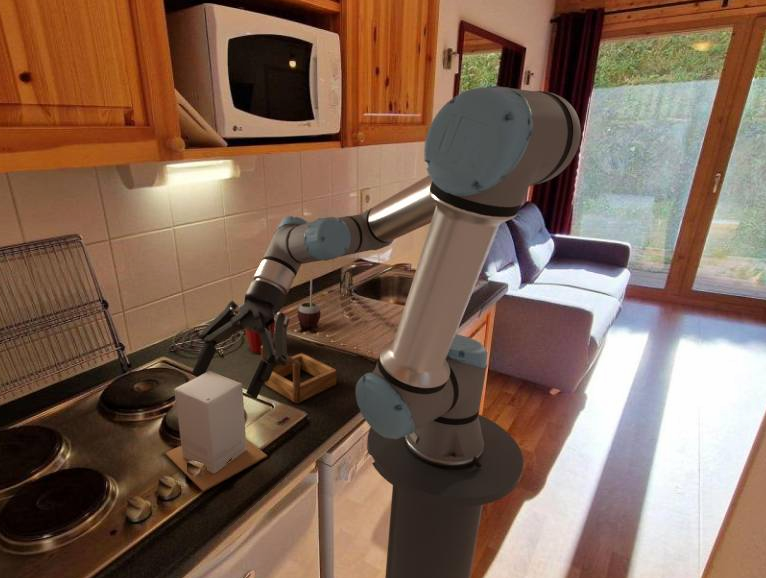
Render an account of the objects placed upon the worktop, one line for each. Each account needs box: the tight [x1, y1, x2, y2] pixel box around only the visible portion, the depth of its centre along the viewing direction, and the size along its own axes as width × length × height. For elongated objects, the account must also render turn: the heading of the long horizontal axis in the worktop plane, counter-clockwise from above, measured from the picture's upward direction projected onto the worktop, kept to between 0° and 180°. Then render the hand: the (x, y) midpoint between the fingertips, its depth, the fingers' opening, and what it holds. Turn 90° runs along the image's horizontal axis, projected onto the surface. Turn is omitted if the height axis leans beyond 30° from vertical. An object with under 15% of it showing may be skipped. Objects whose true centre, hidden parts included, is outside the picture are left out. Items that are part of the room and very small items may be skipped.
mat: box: [164, 438, 268, 493], centre depth 92 cm, size 14×14×1 cm
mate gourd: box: [297, 277, 322, 333], centre depth 147 cm, size 8×8×15 cm
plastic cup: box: [245, 311, 280, 355], centre depth 134 cm, size 11×11×12 cm
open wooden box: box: [260, 346, 338, 405], centre depth 116 cm, size 13×13×11 cm
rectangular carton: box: [173, 370, 247, 474], centre depth 89 cm, size 9×9×15 cm
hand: (222, 386), depth 89 cm, fingers open, 13 cm apart
